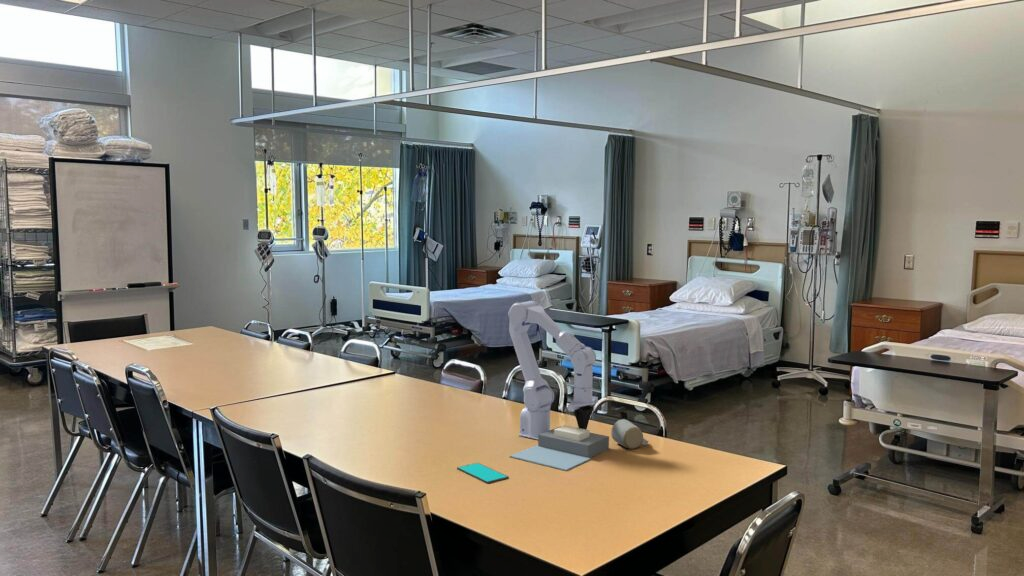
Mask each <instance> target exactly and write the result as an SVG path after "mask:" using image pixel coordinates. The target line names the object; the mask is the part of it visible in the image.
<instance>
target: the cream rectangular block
mask: <svg viewBox="0 0 1024 576" xmlns="http://www.w3.org/2000/svg"><path fill="white" fill-rule="evenodd" d="M558 427H559V428H557V427H556V428H557V429H555V428H553V429H554V436H557V437H562V438H566V439H571V440H576V441H580V440H583V439H585V438H588V437H590V433H591V432H590V429H587V430H586V429H581V428H578V427H575V426H569V425H566V424H565V425H562V426H561V427H560V426H558Z"/></svg>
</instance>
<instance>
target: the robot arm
mask: <svg viewBox="0 0 1024 576" xmlns="http://www.w3.org/2000/svg"><path fill="white" fill-rule="evenodd" d="M507 315H508V319H509V324H508V331H509V335H510V339H511V341H512V344H513V348H514V351H515V354H516V358H517V360H518V363H519V365H520V367H519V368H520V370H521V372H522V375H523V378H524V379H523V380H524V382H525V384H524V386H523V387H522V388H523V389H522V391H523V392H522V393H523V402H524V403H523V404H524V405H525V406H524V407H523V408H522V410H521V412H520V416H519V433H518V436H520V437H524V438H529V439H534V440H537V441H538V435H539V434H542V433H544V432H547V431H550V430H551V405H552V404H553V402H554V400H555V394H554V391H553V389H552V388H551V387H550V385H549V383H548V381H547V380H546V379H545V378H543V377H542V374H541V371H540V368H539V364H538V362H537V359H536V357H535V353H534V349H533V347H532V343H531V340H530V338H529V335H528V331H529V328H530V326H531V325H532V324H537V325H538V326H540V327H541V328H542V329H543V330H545V332H547V334H549V335H551V336H552V337H553V338H554V339H555V345H556V346H557V347H558V348H560V350H561V351H562V352H564V354H566V356H568V358H570V362H571V365H572V366H573V374H574V375H573V399H572V401H571V402H570V403H569V404H567V411H568V412H572V413H573V414H574V417H575V419H576V422H577V428H581V429H586V430H588V426H589V422H590V418H591V417H592V416H591V415H592V414H593V412H594V410H595V407H594V405H596V404H597V403H599V398H598V396H594V395H593V380H594V379H593V370H594V369H593V368H594V364H595V362H596V360H597V354H596V352H595V350H594V349H593V348H592V347H590V346H586V345H585V344H584V343H582V342H581V341H580V340H579V339H577V338H576V337H575V333H574V332H570V331H566V330H565V331H563V330H562V328H561V327H560V326H559V325H558V324H557V322H555V321H554V320H553V319H552V318H551V317H550V316H549V315H548V313H547V312H546V311H545V309H544V307H543V306H541V305H540V304H539V303H538V302H537V301H536V300H527V301H523V302H515V303H513V304H512V305H511V306H510V307H509V310H508V312H507Z"/></svg>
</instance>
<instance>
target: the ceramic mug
mask: <svg viewBox="0 0 1024 576" xmlns="http://www.w3.org/2000/svg"><path fill="white" fill-rule="evenodd" d="M610 434H611V438H612V440H614V442H615V443H617V444H619V445H621V446H622V447H625V448H626V449H630V450H634V449H638V448H639V447H640V446H641V445H643V446H648V444H649V440H648V439H647V438H644V435H643V431H642V430H641V429H640V428H639V427H638V426H637V425H635V424H634V423H632V422H631V421H629V420H628V419H625V418H624V419H618V420H617V421H615V423H614V424H613V426H612V427H611V433H610Z"/></svg>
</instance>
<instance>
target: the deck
mask: <svg viewBox="0 0 1024 576" xmlns="http://www.w3.org/2000/svg"><path fill="white" fill-rule="evenodd" d="M559 427H562V426H558V427H554V428H552V429H550V431H547V432H544V433H542V434H539V435H538V440H537V441H538V442H537V443H538V444H537V446H540V447H544V448H549V449H553V450H557V451H562V452H566V453H570V454H575V455H579V456H584V457H588V458H591V459H592V458H593V457H595V456H597V455H600V454H601V453H603V452H606V451H607V450H608V451H609V449H610V436H608V435H605V434H598V433H593V432H590V437H588V438H585V439H583V440H580V441H576V440H571V439H566V438H562V437H557V436H554V429H557V428H559Z"/></svg>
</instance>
